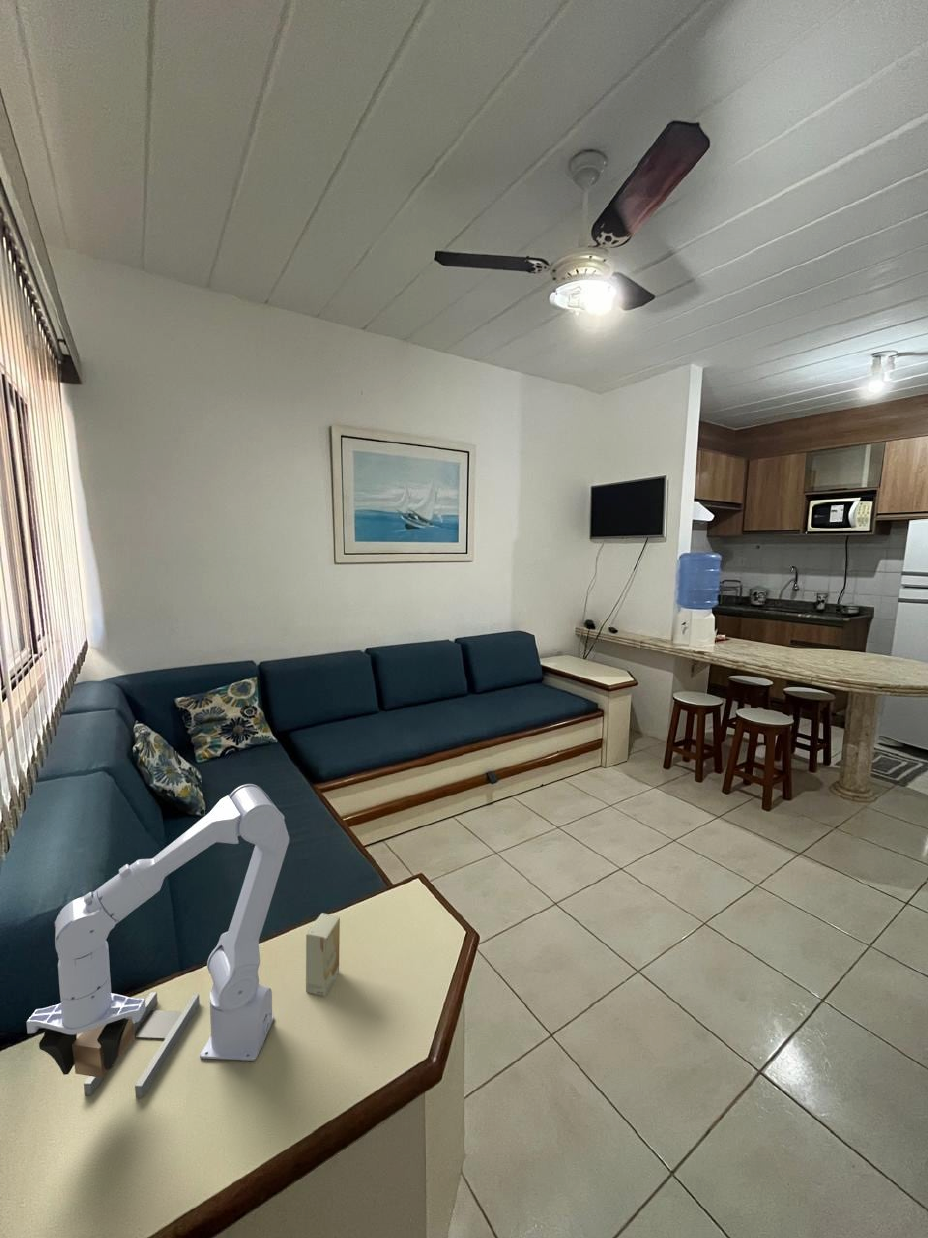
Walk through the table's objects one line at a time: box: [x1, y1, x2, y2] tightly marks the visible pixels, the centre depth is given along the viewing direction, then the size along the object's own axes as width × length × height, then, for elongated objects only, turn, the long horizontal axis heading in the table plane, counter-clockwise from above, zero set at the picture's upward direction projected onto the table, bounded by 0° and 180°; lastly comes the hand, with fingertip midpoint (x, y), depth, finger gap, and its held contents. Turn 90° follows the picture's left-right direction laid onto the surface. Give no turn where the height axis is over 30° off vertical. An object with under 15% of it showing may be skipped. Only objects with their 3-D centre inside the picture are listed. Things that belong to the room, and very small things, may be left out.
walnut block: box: [72, 1019, 136, 1079], centre depth 74 cm, size 4×6×5 cm
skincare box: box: [305, 912, 341, 997], centre depth 96 cm, size 6×4×12 cm
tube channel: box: [83, 991, 201, 1098], centre depth 83 cm, size 9×16×2 cm, turn 179°
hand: (91, 1065), depth 72 cm, fingers closed on walnut block, 5 cm apart
